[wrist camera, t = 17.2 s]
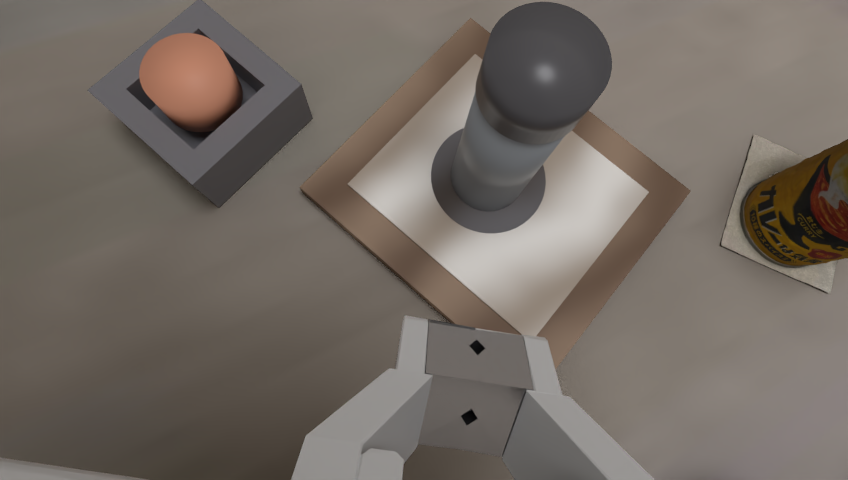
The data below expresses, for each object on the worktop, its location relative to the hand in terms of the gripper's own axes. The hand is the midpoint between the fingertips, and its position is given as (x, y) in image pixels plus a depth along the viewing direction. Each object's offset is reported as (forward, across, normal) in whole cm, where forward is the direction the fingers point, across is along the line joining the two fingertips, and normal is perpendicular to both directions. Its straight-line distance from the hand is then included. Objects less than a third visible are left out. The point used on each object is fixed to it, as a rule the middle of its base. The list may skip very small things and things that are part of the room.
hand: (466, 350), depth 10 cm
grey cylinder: (+20, -2, +3) cm, 20 cm away
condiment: (+22, -22, +3) cm, 32 cm away
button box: (+22, +14, +3) cm, 26 cm away
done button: (+19, +15, +1) cm, 24 cm away
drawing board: (+20, -3, +4) cm, 21 cm away
